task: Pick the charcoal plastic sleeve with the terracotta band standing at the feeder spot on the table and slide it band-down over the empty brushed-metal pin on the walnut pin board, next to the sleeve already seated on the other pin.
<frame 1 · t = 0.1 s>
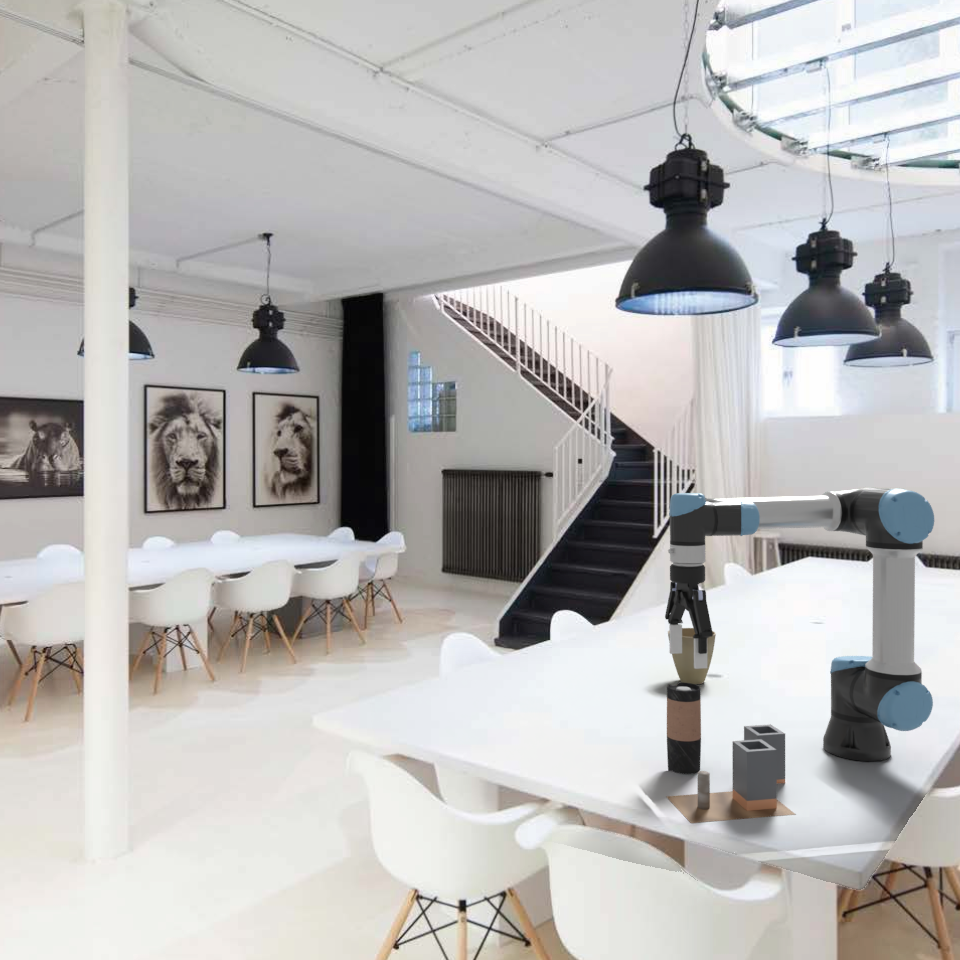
hand: (687, 660, 185), 28 cm above the table, fingers open, 13 cm apart
banded sleeve: (764, 783, 187), on the table
seated sleeve: (754, 803, 173), point 1 cm above the table, touching pinboard
plant pot: (691, 682, 270), on the table
travel mug: (683, 774, 193), on the table
pinboard: (729, 810, 173), on the table
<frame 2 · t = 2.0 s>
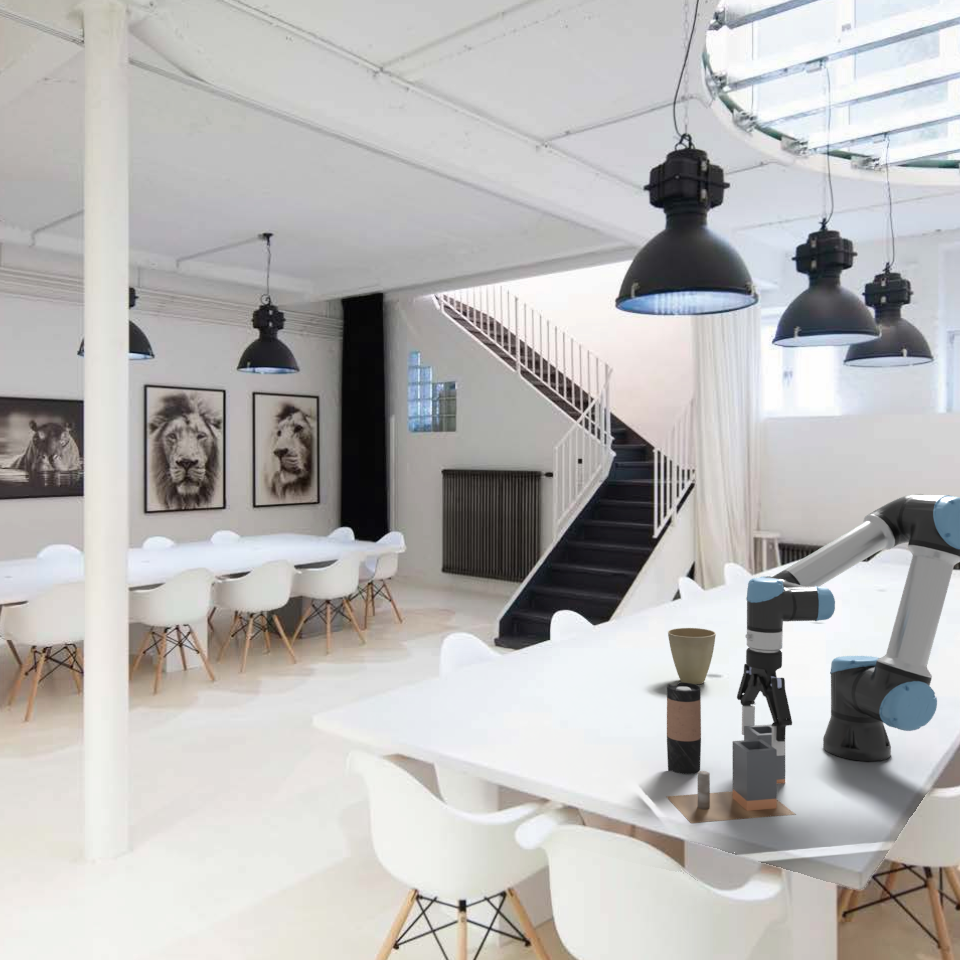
hand: (762, 744, 186), 9 cm above the table, fingers open, 13 cm apart
nothing on the table moved.
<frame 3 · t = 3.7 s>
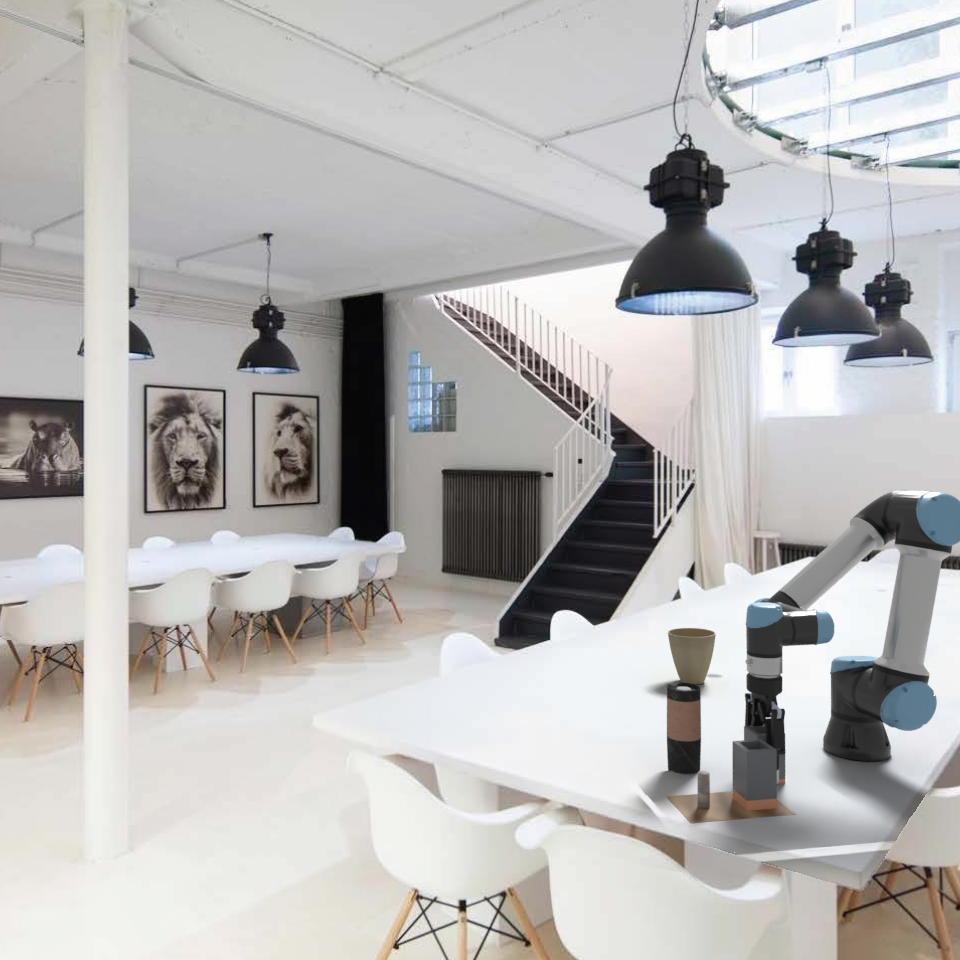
hand: (764, 777, 187), 1 cm above the table, fingers closed on banded sleeve, 6 cm apart
banded sleeve: (764, 783, 187), on the table, touching gripper
everything else where it was.
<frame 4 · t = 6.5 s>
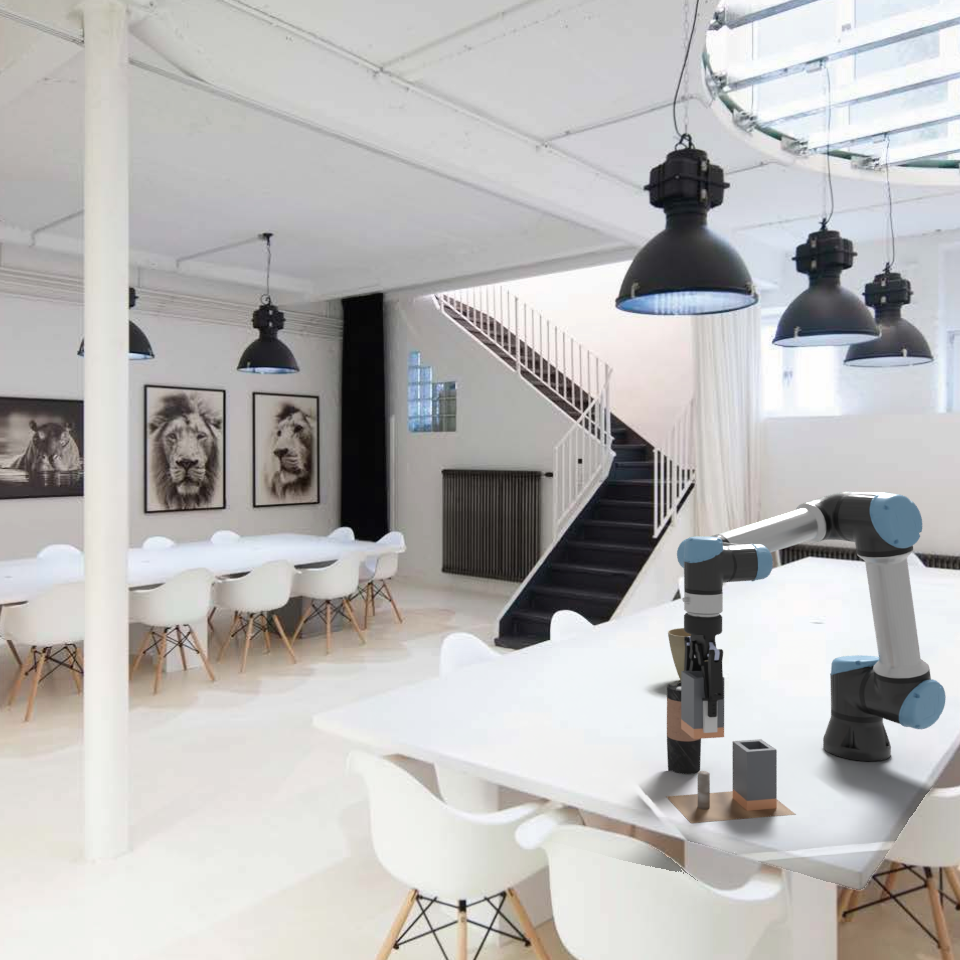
hand: (702, 726, 171), 18 cm above the table, fingers closed on banded sleeve, 6 cm apart
banded sleeve: (702, 732, 171), point 16 cm above the table, touching gripper
everything else where it was.
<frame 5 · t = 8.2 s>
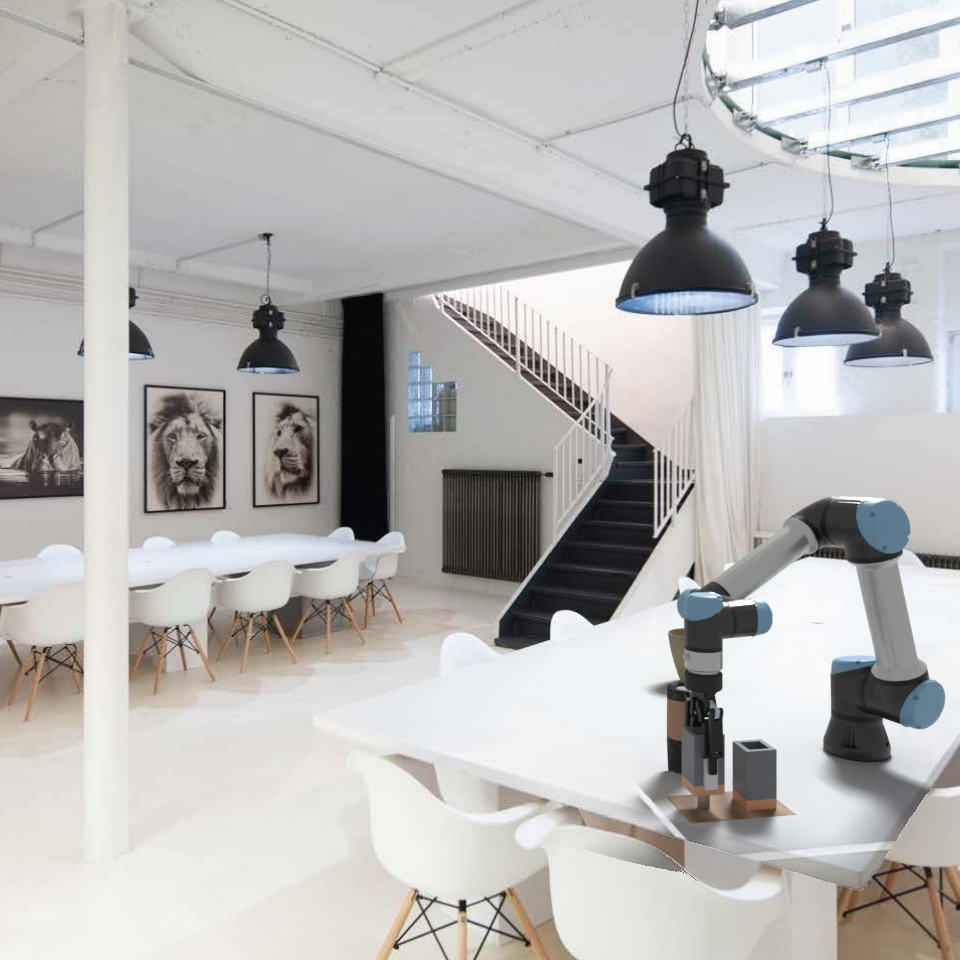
hand: (703, 782, 172), 6 cm above the table, fingers closed on banded sleeve, 6 cm apart
banded sleeve: (702, 789, 172), point 5 cm above the table, touching gripper
everything else where it was.
when the fingers open (4 cm above the table, at t = 9.5 s): banded sleeve drops 1 cm, resting on pinboard.
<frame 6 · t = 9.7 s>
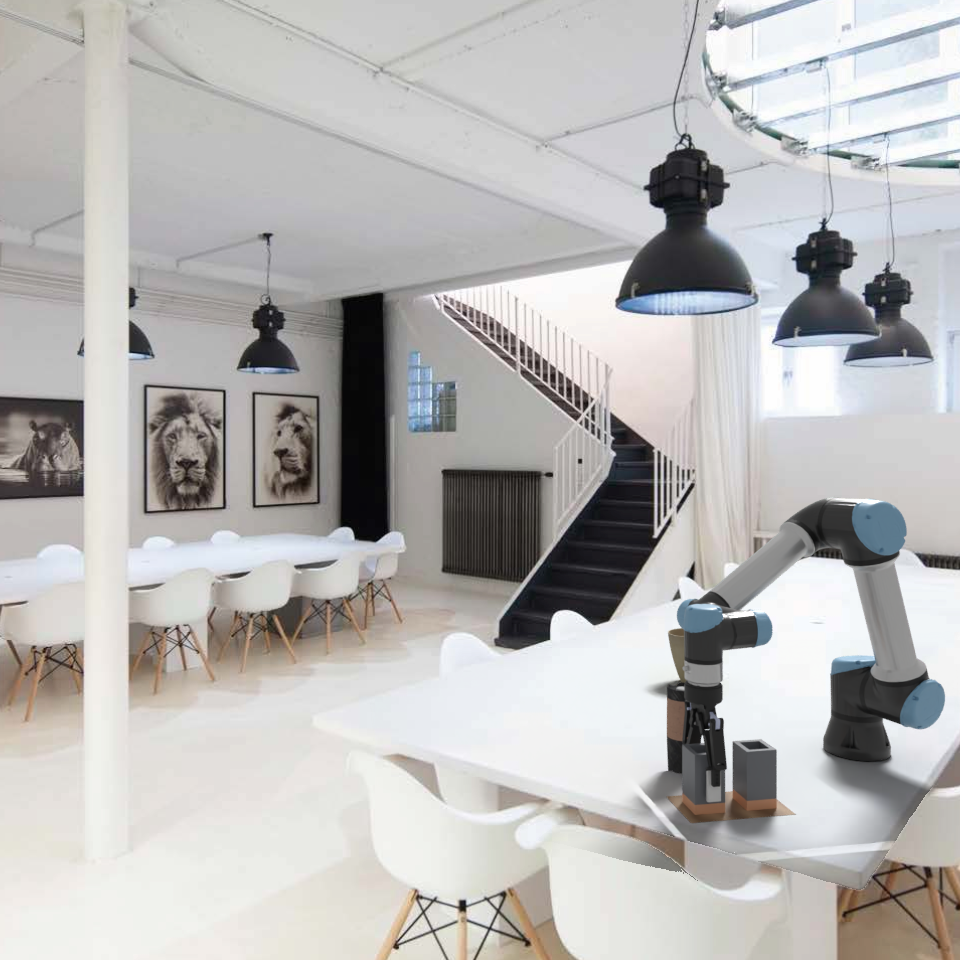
hand: (703, 791, 172), 4 cm above the table, fingers open, 9 cm apart
banded sleeve: (703, 807, 172), point 1 cm above the table, touching pinboard
everything else where it was.
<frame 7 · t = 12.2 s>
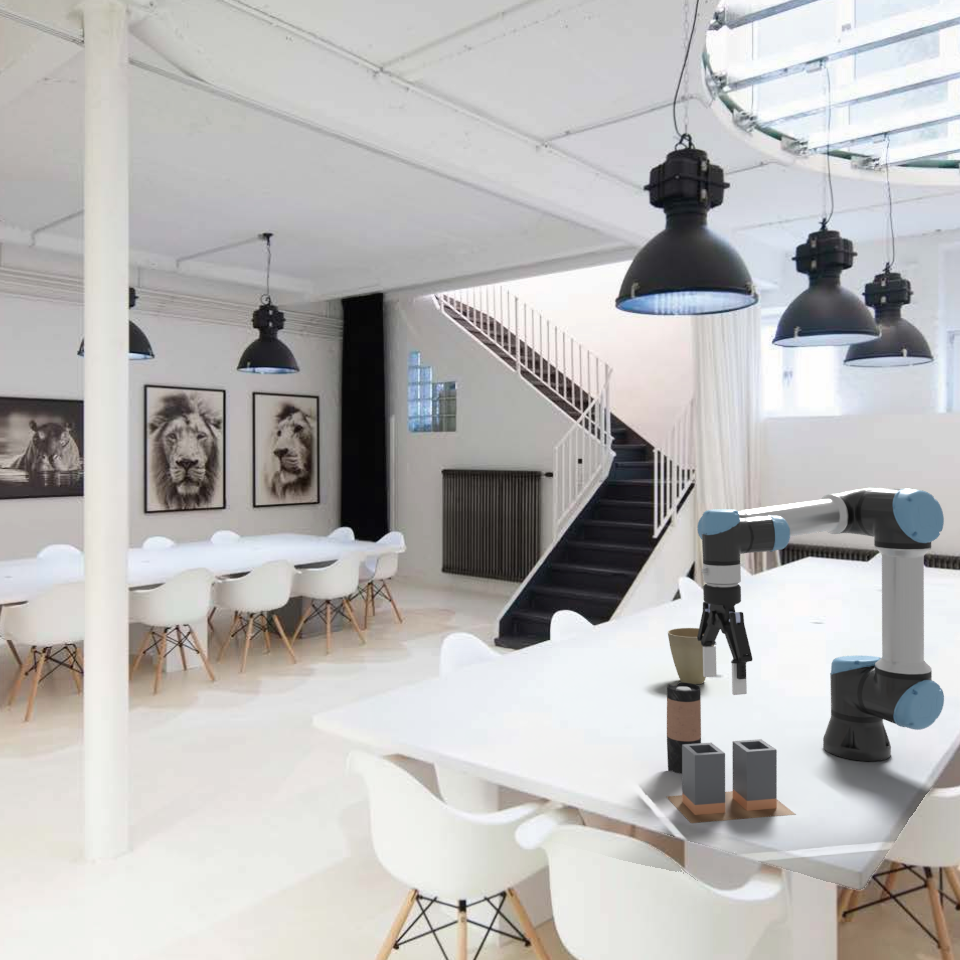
hand: (724, 685, 176), 25 cm above the table, fingers open, 13 cm apart
nothing on the table moved.
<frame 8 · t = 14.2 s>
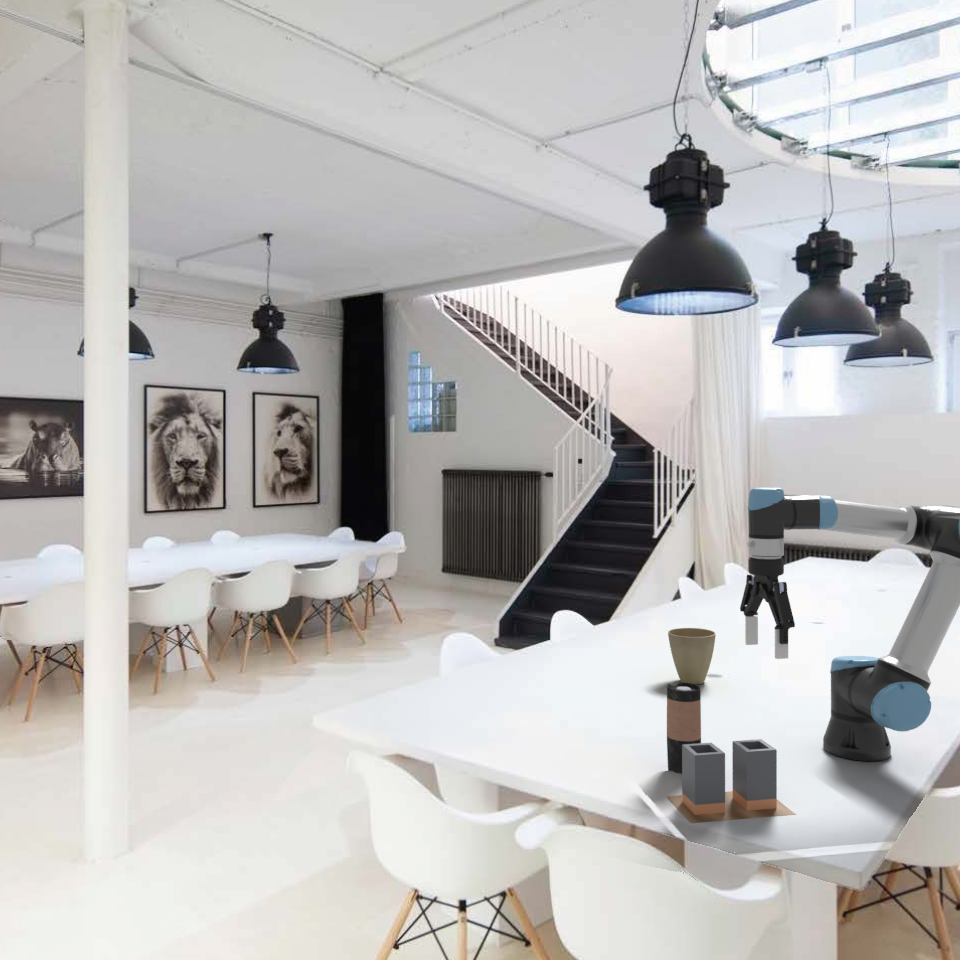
hand: (766, 651, 189), 29 cm above the table, fingers open, 13 cm apart
nothing on the table moved.
at the end: banded sleeve 0.0 cm from the target spot on the pinboard, point 1.2 cm above the pinboard's base; banded sleeve tilted 0°; the gripper is holding nothing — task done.
